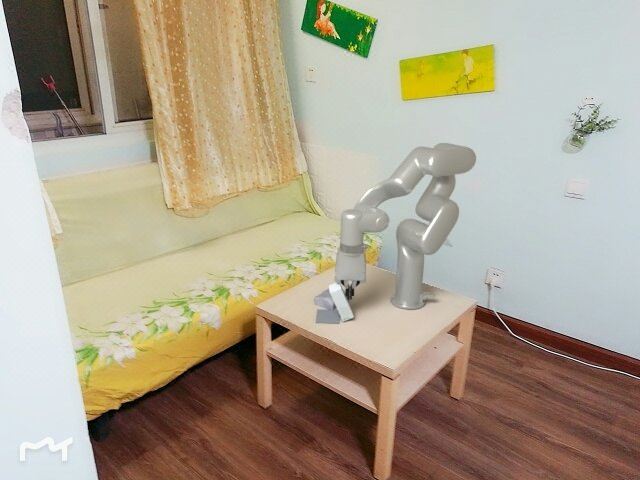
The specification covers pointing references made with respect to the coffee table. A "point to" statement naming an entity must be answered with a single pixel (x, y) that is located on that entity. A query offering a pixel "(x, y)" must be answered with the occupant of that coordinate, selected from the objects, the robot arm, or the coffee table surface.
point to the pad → (327, 316)
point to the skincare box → (341, 301)
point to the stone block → (325, 300)
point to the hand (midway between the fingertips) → (349, 297)
